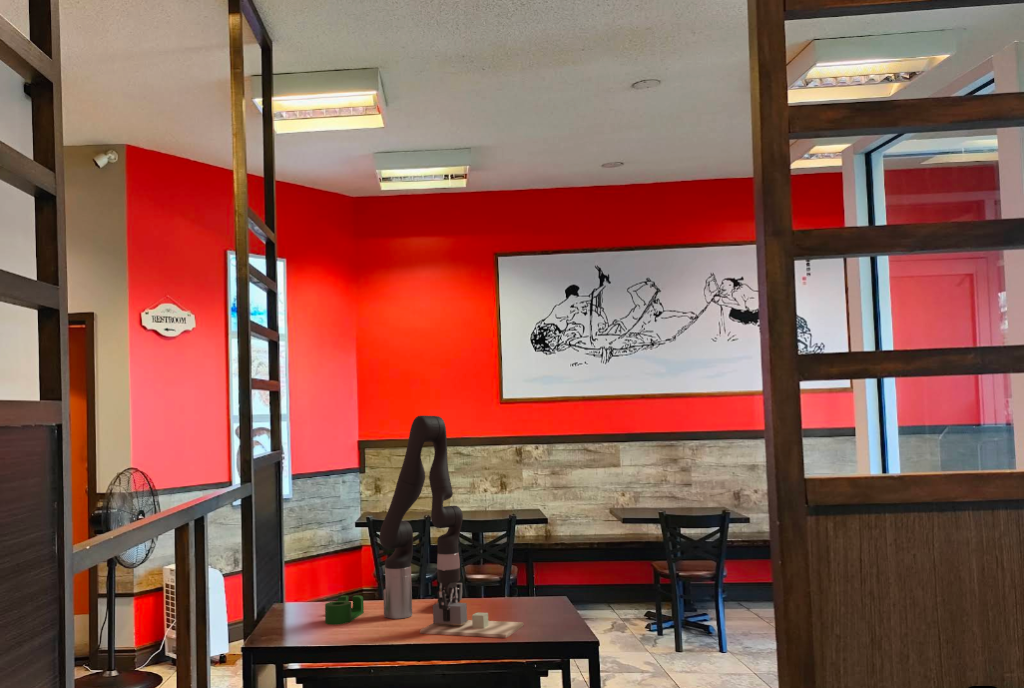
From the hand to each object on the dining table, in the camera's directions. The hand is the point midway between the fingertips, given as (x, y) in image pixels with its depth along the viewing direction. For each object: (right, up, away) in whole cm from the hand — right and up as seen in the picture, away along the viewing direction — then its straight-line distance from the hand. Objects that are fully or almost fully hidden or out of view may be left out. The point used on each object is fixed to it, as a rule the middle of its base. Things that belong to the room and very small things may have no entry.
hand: (450, 619), depth 262 cm
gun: (-3, -8, +37) cm, 38 cm away
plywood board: (+7, -2, -3) cm, 8 cm away
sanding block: (0, -1, 0) cm, 1 cm away
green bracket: (-40, -8, +21) cm, 46 cm away
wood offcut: (+10, -1, -4) cm, 11 cm away
